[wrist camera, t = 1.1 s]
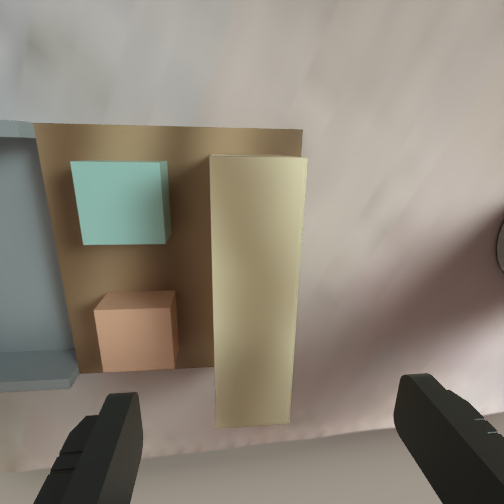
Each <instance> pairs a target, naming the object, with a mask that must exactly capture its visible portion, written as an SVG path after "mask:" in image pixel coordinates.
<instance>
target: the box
mask: <svg viewBox="0 0 504 504" xmlns="http://www.w3.org/2000/svg"><path fill="white" fill-rule="evenodd" d="M79 374H80V373H79V367H78V362H77V356H76V351H75V346H74V340H73V335H72V330H71V324H70V319H69V314H68V308H67V303H66V298H65V292H64V287H63V281H62V276H61V271H60V265H59V260H58V255H57V249H56V244H55V239H54V233H53V228H52V222H51V217H50V212H49V206H48V201H47V196H46V190H45V185H44V180H43V174H42V169H41V164H40V158H39V153H38V147H37V142H36V137H35V131H34V126H33V123H30V122H22V121H9V120H0V392H16V391H34V390H51V389H69V388H71V387H72V385H73V384H74V382H75V380H76V379H77V377H78V376H79Z"/></svg>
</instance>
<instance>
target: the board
mask: <svg viewBox="0 0 504 504" xmlns="http://www.w3.org/2000/svg"><path fill="white" fill-rule="evenodd" d="M33 126H34V131H35V137H36V142H37V147H38V153H39V158H40V164H41V169H42V174H43V180H44V185H45V190H46V196H47V201H48V206H49V212H50V217H51V222H52V228H53V233H54V239H55V244H56V249H57V255H58V260H59V265H60V271H61V276H62V281H63V287H64V292H65V298H66V303H67V308H68V314H69V319H70V324H71V330H72V335H73V340H74V346H75V351H76V356H77V362H78V367H79V373H80V374H81V373H101V372H103V366H102V360H101V354H100V347H99V341H98V335H97V328H96V322H95V316H94V309H95V308H96V307H97V305H98V304H99V303H100V302H101V300H102V299H103V298H104V296H105V295H106V294H107V292H138V291H174V290H175V291H176V306H177V322H178V337H179V349H178V354H177V359H176V364H175V369H178V368H198V367H215V366H214V325H213V284H212V243H211V202H210V162H209V156H211V155H212V154H255V155H284V156H294V157H301V148H302V132H303V130H298V129H258V128H217V127H176V126H136V125H95V124H54V123H33ZM81 160H140V161H167V168H168V183H169V199H170V214H171V229H172V233H171V235H170V237H169V239H168V240H167V242H166V244H125V245H83V240H82V233H81V227H80V221H79V214H78V208H77V202H76V195H75V189H74V183H73V176H72V170H71V164H70V161H81Z"/></svg>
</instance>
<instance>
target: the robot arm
mask: <svg viewBox="0 0 504 504" xmlns="http://www.w3.org/2000/svg"><path fill="white" fill-rule="evenodd" d="M497 258H498V261H499V265H500V267H501V269H502V270H503V272H504V223H503V226H502V228H501V231H500V234H499V238H498V243H497ZM394 423H395V427H396V430H397V432H398V434H399V436H400V438H401V439H402V441H403V442H404V444H405V446H406V447H407V449H408V450H409V452H410V453H411V455H412V456H413V458H414V459H415V461H416V463H417V464H418V466H419V467H420V469H421V470H422V472H423V473H424V475H425V477H426V478H427V480H428V481H429V483H430V484H431V486H432V488H433V489H434V491H435V492H436V494H437V495H438V497H439V498H440V500H441V502H442V503H443V504H504V437H503V436H502V435H501V434H498V433H497V430H496V429H495V428H494V427H493V426H492V425H491V424H490V423H489V422H488V421H485V420H484V417H483V416H482V415H481V414H480V413H479V412H478V411H477V410H476V409H475V408H474V407H473V406H472V405H471V404H470V403H469V402H467V401H466V400H464V399H463V398H461V397H460V396H458V395H457V394H455V393H453V392H452V391H450V390H446V389H445V388H444V387H443V386H442V385H441V384H440V383H439V382H438V381H437V380H436V379H435V378H434V377H433V376H432V375H430V374H428V373H424V374H409V375H403V376H402V377H401V379H400V383H399V388H398V393H397V398H396V404H395V409H394ZM142 447H143V429H142V421H141V413H140V405H139V397H138V393H137V392H130V393H115V394H109V395H108V396H107V397H106V399H105V402H104V404H103V406H102V409H101V411H100V413H99V415H92V416H86V417H85V418H84V419H83V420H82V421H81V422H80V423H79V424H78V425H77V426H76V427H75V428H74V429H73V430H72V431H71V432H70V433H69V435H68V437H67V439H66V441H65V443H64V445H63V447H62V449H61V451H60V454H59V457H57V459H56V461H55V463H54V464H53V466H52V468H51V472H50V475H48V476H47V478H46V480H45V482H44V484H43V486H42V488H41V490H40V492H39V494H38V496H37V498H36V500H35V501H34V504H130V501H131V497H132V492H133V488H134V485H135V480H136V476H137V472H138V468H139V464H140V460H141V455H142Z"/></svg>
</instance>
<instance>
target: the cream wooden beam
mask: <svg viewBox="0 0 504 504" xmlns="http://www.w3.org/2000/svg"><path fill="white" fill-rule="evenodd" d="M307 159H308V158H304V157H294V156H284V155H255V154H212V155H211V156H209V162H210V202H211V243H212V284H213V325H214V366H215V407H216V429H220V428H234V427H248V426H262V425H276V424H289V419H290V405H291V390H292V376H293V362H294V347H295V333H296V318H297V304H298V289H299V275H300V260H301V246H302V232H303V217H304V203H305V188H306V174H307Z"/></svg>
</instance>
